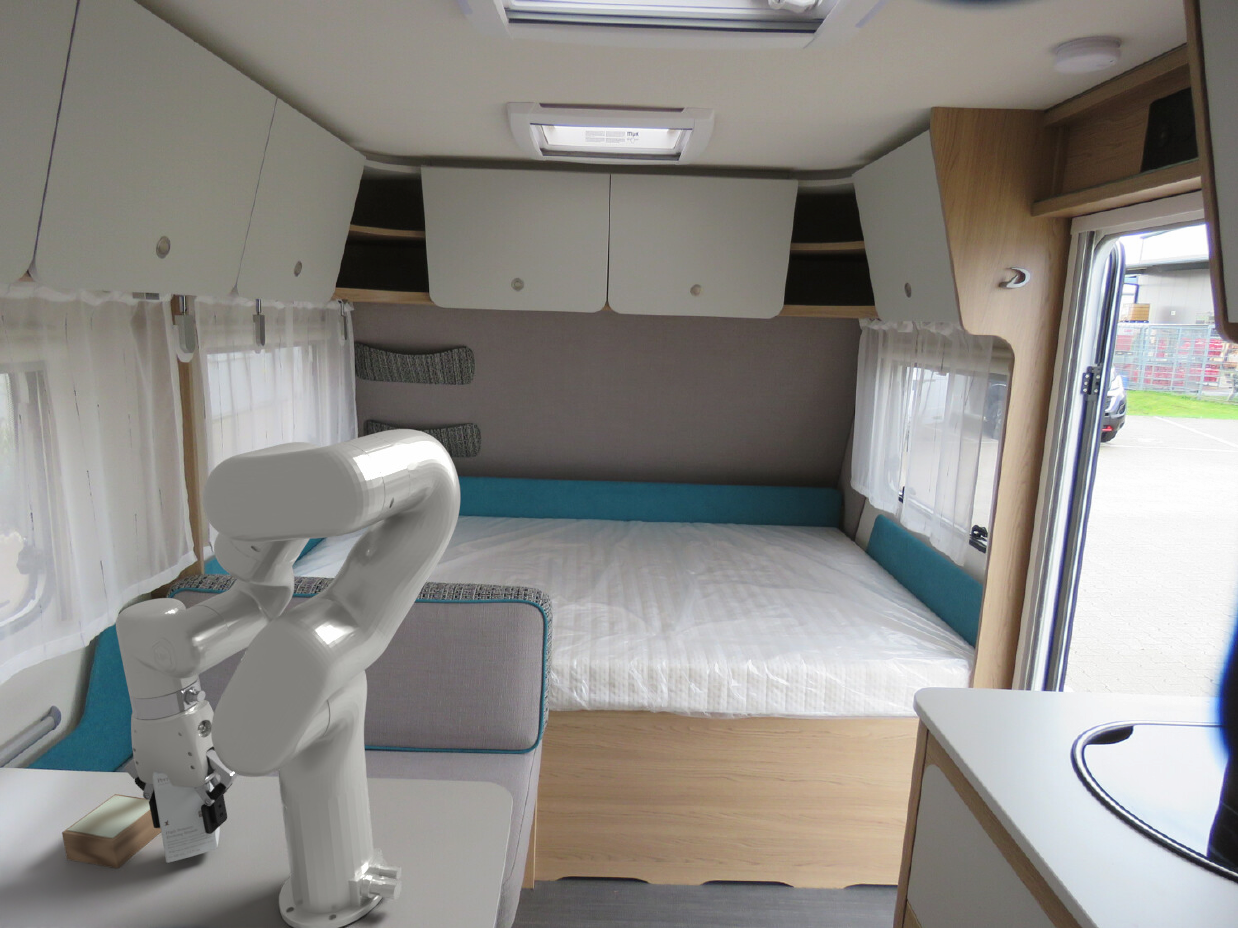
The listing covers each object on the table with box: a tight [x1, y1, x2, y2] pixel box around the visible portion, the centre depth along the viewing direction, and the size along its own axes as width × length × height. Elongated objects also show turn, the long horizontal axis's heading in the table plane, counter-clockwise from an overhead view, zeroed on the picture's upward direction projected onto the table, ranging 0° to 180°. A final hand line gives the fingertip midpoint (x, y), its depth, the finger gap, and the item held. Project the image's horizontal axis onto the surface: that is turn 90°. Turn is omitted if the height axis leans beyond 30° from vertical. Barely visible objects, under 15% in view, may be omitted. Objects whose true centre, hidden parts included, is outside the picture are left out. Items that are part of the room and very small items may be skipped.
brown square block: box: [61, 793, 161, 869], centre depth 100 cm, size 8×8×4 cm
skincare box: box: [152, 771, 221, 863], centre depth 96 cm, size 6×4×12 cm
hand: (191, 822), depth 97 cm, fingers closed on skincare box, 7 cm apart
